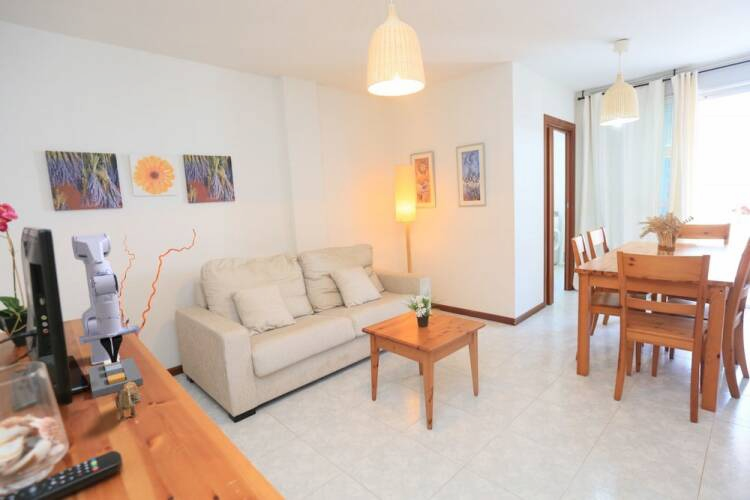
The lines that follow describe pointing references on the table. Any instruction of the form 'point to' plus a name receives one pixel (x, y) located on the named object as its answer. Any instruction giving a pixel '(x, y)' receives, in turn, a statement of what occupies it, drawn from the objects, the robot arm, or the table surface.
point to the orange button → (116, 378)
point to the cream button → (108, 363)
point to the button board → (101, 383)
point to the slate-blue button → (114, 370)
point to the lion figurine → (127, 399)
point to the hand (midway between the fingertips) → (114, 361)
